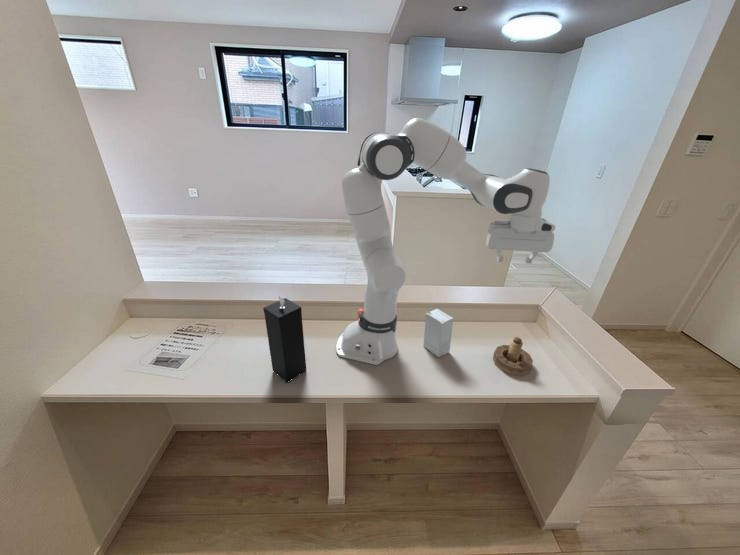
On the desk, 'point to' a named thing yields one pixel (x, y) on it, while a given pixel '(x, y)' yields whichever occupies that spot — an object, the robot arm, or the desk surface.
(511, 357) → the wooden peg
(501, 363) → the brown faceted ring
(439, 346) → the skincare box
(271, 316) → the square furniture leg
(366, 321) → the robot arm
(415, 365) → the desk surface
